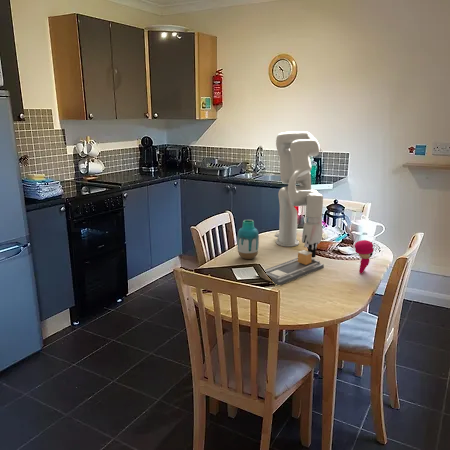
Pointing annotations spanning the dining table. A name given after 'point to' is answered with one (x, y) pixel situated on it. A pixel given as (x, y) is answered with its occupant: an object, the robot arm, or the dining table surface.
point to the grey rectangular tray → (291, 270)
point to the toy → (364, 253)
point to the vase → (248, 240)
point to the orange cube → (304, 257)
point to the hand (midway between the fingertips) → (311, 256)
